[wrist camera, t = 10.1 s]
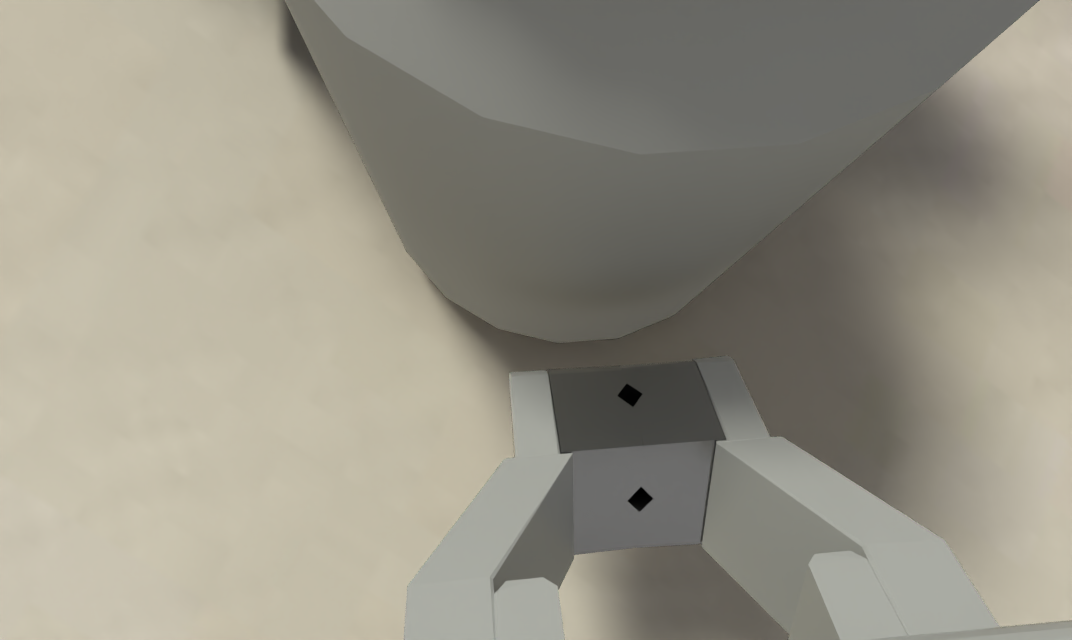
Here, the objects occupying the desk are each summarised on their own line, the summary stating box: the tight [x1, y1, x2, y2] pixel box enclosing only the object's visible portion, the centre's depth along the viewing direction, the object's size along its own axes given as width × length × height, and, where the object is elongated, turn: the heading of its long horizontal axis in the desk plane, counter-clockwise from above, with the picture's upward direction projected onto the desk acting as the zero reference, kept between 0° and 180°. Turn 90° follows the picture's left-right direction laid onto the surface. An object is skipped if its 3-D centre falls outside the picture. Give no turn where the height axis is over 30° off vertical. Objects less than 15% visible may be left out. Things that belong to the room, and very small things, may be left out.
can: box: [285, 0, 1039, 343], centre depth 11 cm, size 8×8×12 cm
